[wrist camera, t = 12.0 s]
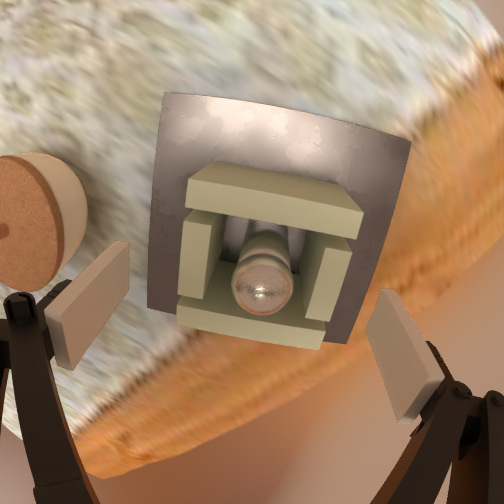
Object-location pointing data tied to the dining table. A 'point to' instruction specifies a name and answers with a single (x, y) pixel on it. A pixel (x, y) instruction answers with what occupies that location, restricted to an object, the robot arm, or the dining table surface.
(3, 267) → the lidded jar
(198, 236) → the square link
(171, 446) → the dining table surface
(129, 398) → the dining table surface
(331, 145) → the keeper base
